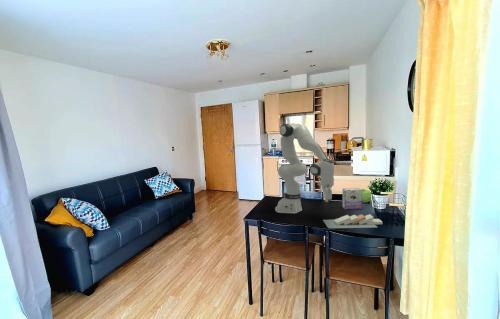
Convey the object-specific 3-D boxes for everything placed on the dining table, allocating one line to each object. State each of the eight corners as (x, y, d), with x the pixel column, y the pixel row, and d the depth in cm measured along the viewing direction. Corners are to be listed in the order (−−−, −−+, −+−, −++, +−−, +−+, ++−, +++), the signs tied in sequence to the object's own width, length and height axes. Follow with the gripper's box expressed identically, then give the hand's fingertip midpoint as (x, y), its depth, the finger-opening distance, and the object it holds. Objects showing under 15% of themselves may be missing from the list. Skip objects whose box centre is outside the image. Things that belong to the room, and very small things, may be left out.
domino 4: (359, 222, 151) (373, 216, 150) (356, 219, 156) (369, 214, 155) (360, 224, 151) (374, 219, 150) (356, 221, 156) (370, 216, 155)
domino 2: (343, 222, 151) (357, 217, 150) (341, 219, 156) (354, 214, 155) (344, 225, 152) (358, 219, 151) (342, 222, 157) (355, 216, 156)
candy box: (359, 206, 186) (359, 187, 184) (362, 209, 180) (362, 189, 178) (342, 207, 187) (342, 188, 185) (344, 209, 182) (344, 189, 179)
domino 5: (367, 222, 151) (382, 221, 150) (363, 219, 155) (378, 218, 155) (367, 224, 151) (382, 224, 150) (363, 221, 156) (378, 221, 155)
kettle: (374, 204, 190) (375, 191, 189) (356, 203, 193) (357, 191, 192) (369, 198, 204) (370, 187, 203) (353, 198, 208) (353, 186, 206)
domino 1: (336, 222, 152) (350, 217, 151) (334, 219, 157) (347, 214, 156) (337, 225, 152) (351, 219, 151) (334, 222, 157) (348, 216, 156)
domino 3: (351, 222, 151) (365, 216, 151) (348, 219, 156) (361, 214, 156) (352, 224, 151) (366, 219, 151) (349, 221, 156) (362, 216, 156)
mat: (328, 228, 148) (328, 228, 148) (322, 220, 162) (322, 219, 162) (377, 228, 146) (377, 227, 146) (367, 219, 160) (368, 218, 160)
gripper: (334, 186, 145) (333, 207, 147) (329, 178, 165) (328, 196, 167) (324, 186, 146) (323, 206, 148) (320, 178, 166) (320, 196, 168)
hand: (326, 201), depth 158 cm, fingers closed
